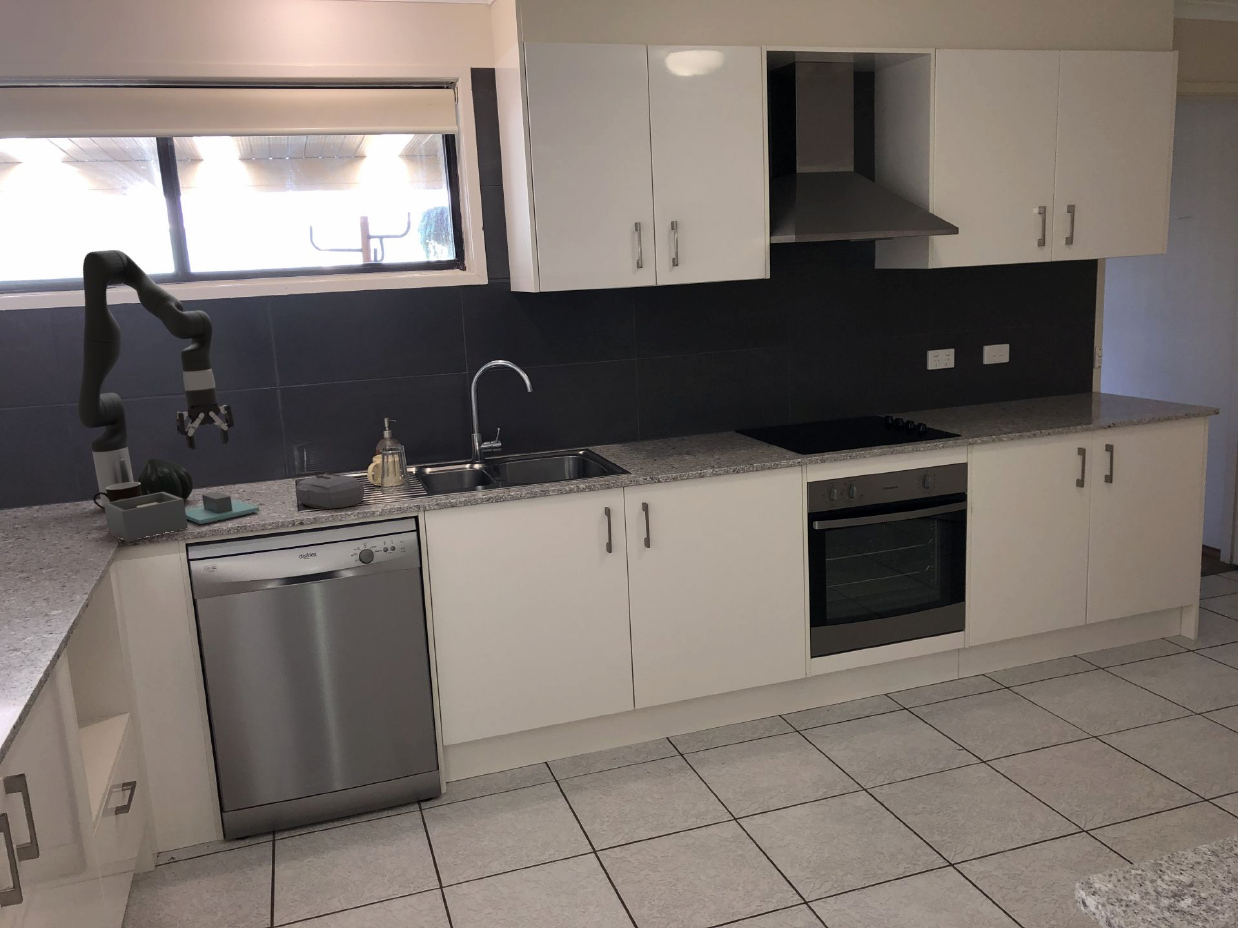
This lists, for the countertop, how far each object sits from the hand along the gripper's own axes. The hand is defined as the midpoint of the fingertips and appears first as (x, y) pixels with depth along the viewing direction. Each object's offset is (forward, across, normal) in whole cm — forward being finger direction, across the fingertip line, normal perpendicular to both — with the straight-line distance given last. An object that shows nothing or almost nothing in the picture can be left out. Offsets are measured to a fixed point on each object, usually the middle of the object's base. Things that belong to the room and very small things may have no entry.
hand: (208, 446), depth 267 cm
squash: (+20, +4, -28) cm, 34 cm away
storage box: (+19, +18, 0) cm, 27 cm away
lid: (+18, 0, 0) cm, 19 cm away
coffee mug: (+20, +19, -18) cm, 33 cm away
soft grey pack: (+19, -26, +16) cm, 36 cm away
